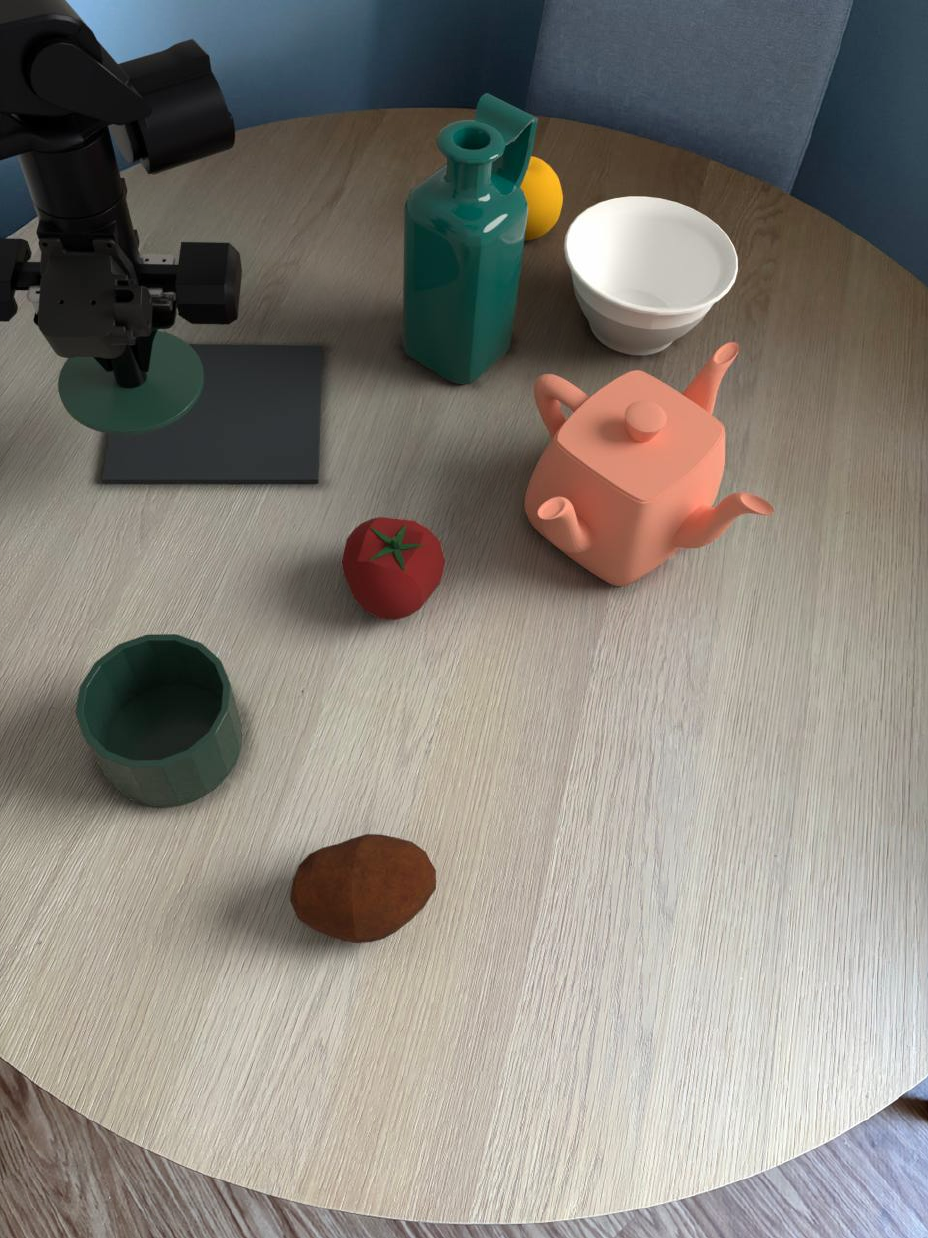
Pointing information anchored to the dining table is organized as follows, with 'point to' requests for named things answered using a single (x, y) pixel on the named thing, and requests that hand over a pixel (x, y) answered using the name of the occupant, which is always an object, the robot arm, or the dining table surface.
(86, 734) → the tin
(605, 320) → the bowl
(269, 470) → the mat
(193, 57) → the robot arm
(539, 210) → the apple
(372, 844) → the potato
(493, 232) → the pitcher
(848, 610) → the dining table surface
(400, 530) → the tomato
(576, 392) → the pot
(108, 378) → the tin lid
